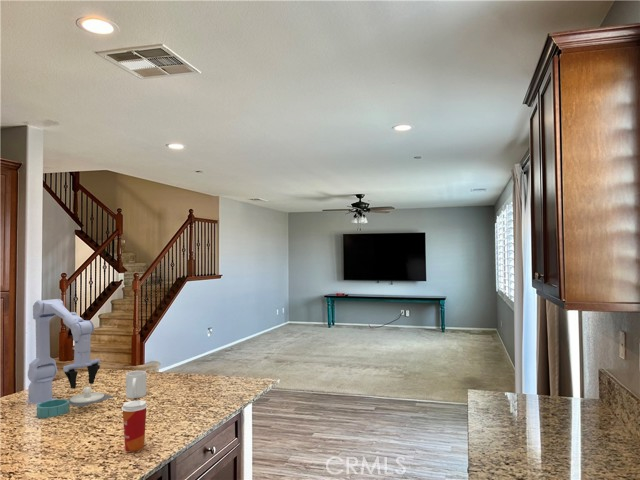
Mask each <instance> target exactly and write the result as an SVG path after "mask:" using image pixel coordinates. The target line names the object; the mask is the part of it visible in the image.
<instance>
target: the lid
mask: <svg viewBox="0 0 640 480" xmlns="http://www.w3.org/2000/svg"><path fill="white" fill-rule="evenodd" d="M82 392H83V393H80V394H77V395H76V394H75V395H74V396H71V397H70V402H71V403H73V404H85V403H92V402H96V401H99V400H101V399H103V398H104V394H105V393H103V392H97V391H92V386H84V387H83V390H82ZM91 392H92V393H91Z"/></svg>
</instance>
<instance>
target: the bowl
mask: <svg viewBox="0 0 640 480" xmlns="http://www.w3.org/2000/svg"><path fill="white" fill-rule="evenodd" d="M55 399H56V400H49V401H45V402H42V403H40V404H36V418H38V419H42V420H43V419H46V420H47V419H48V418H52V417H53V418H55V417H58V416H62V415H65V414H67V413H69V412H70V405H69V400H66V399H65V398H60V399H59V398H55Z"/></svg>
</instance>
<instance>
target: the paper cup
mask: <svg viewBox="0 0 640 480" xmlns="http://www.w3.org/2000/svg"><path fill="white" fill-rule="evenodd" d="M147 408H148V404H147V402H146V401H145V400H140V399H139V400H130V401H126V402H124V403H123V405H122V407H121V411H122V417H123V418H122V422H123V436H124V437H123V438H124V448H125V451H126V452H136V451H139V450H142V449H143V448H144V447H145V437H146V434H145V433H146V418H147Z"/></svg>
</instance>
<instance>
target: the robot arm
mask: <svg viewBox="0 0 640 480" xmlns="http://www.w3.org/2000/svg"><path fill="white" fill-rule="evenodd" d="M56 316H57V317H59V318H60V319H62V323H63V324H64V325H65V326H66V327H68V328H69V329H70V331H71V334H72V340H73V342H74V359H73V360H74V362H73V363H70V364H67V365H63V372H64V374H65V376H66V378H67V379H68V382H69V385H70V389H72V390H73V389H77V376H78V371H76V370H77V369H81V368H87V372H88V384H91V385H93V384H94V383H95V379H96V375H97V374H98V372H99V369H100V368H101V358H96V359H91V348H92V347H91V342H92V341H91V335H93V333H94V331H95V326H94V323H93V322H92V320H84V318H82V317H80V315H79V314H77V312H76V311H74V312H73V311H72V312H71V311H70V310H68V309H67V308H66V306H64V301H63V300H62V299H60V298H53V299H45V300H44V299H43V300H41V299H40V300H39V299H38V300H36V301H35V302H34V303H33V305H32V319H33V320H35V321H34V322H35V359H34V360H32V361H31V362H30V363H29V364H28V370H27V378H28V380H29V381H30V383H29V385H28V391H27V393H28V398H27V400H26V401H25V402H26V403H27V402H28V403H30V404H34V405H38V404H40V403H42V402H45V401H49V400H56V399H57V398H54V397H53V380H55V377H56V376H57V373H58V367H57V363H56V359H54V358H52V357H51V343H50V342H51V341H50V338H51V337H50V334H51V333H50V321H51V319H52V318H54V317H56Z"/></svg>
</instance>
